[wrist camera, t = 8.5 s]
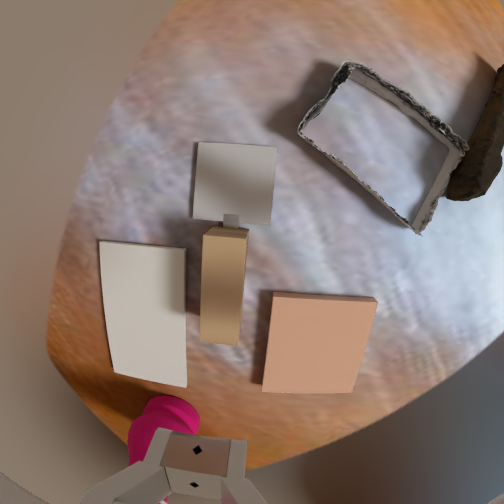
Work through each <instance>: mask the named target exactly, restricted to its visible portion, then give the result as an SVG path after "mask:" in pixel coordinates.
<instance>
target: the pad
mask: <svg viewBox="0 0 504 504" xmlns="http://www.w3.org/2000/svg"><path fill="white" fill-rule="evenodd" d="M100 265H101V280H102V291H103V302H104V310H105V319H106V326H107V333H108V339H109V346H110V352H111V357H112V362H113V368H114V372H115V373H119V374H123V375H127V376H131V377H136V378H140V379H144V380H149V381H154V382H158V383H163V384H169V385H174V386H179V387H185V388H186V386H187V367H186V320H185V297H186V248H176V247H165V246H155V245H145V244H134V243H124V242H113V241H100Z"/></svg>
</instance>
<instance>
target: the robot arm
mask: <svg viewBox="0 0 504 504" xmlns="http://www.w3.org/2000/svg"><path fill="white" fill-rule="evenodd" d="M246 449H247V441H245V440H233V439H226V438H217V437H208V436H198V435H192V434H187V433H182V432H177V431H173V430H168V429H163V428H159V427H158V429H157V430H156V431H155V434H154V436H153V438H152V441H151V443H150V446H149V448H148V451H147V453H146V456H145V458H144V461H143V462H142V461H138V462H136V463H134V464H133V465H131V466H129V467H127V468H126V469H124V470H122V471H120V472H118V473H117V474H115V475H113V476H111V477H109V478H108V479H106V480H104V481H102V482H100V483H98V484H96V485H94V486H92V487H90V488H88V489H87V491H86V494H85V495H84V497H83V499H82V501H81V503H80V504H158V503H160V502H161V501H162V500H163V499H165V498H166V497H167V496H168V495H169V494H171V492H175V493H181V494H187V495H194V496H199V497H205V498H212V499H218V500H221V502H222V504H267V502H266V501H265V500H264V499H263V497H262V496H261V495H260V493H259V492H258V491H257V490H256V488H255V487H254V486H253V484H252V483H251V481H250V480H249V479H244V476H245V463H246ZM0 504H49V503H47V502H45V501H44V500H42V499H40V498H39V497H37V496H35V495H34V494H32V493H31V492H29V491H27V490H26V489H25V488H23V487H22V486H20V485H19V484H17V483H16V482H14V481H13V480H11V479H10V478H9V477H7V476H6V475H4V474H3V473H2V472H1V471H0ZM487 504H504V493H503V494H502V495H500V496H498V497H497V498H495V499H494V500H492V501H490V502H488V503H487Z"/></svg>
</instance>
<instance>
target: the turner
mask: <svg viewBox="0 0 504 504" xmlns="http://www.w3.org/2000/svg"><path fill="white" fill-rule="evenodd" d="M276 157H277V147H268V146H256V145H243V144H227V143H205V142H199V143H198V154H197V165H196V178H195V191H194V206H193V219H200V220H213V221H223V227H217V226H213V227H212V228H211V229H210V230H208V231H207V232H206V233H205V234H204V235H203V249H202V272H201V304H200V341H201V342H208V343H216V344H225V345H234V346H237V344H238V338H239V331H240V325H241V316H242V304H243V292H244V280H245V268H246V256H247V245H248V233H249V229H240V228H239V223H248V224H259V225H269V226H270V221H271V211H272V200H273V190H274V179H275V168H276Z"/></svg>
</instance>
